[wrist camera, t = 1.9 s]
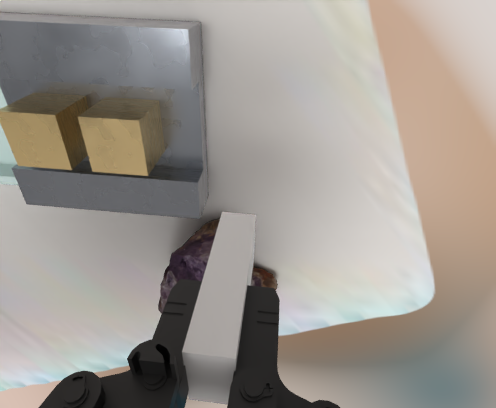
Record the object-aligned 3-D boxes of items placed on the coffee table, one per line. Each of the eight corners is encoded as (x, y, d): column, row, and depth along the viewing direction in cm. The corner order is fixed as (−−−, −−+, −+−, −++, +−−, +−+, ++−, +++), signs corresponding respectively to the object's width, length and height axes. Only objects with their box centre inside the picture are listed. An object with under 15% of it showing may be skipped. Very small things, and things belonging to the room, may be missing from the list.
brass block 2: (116, 147, 27) (92, 171, 24) (105, 97, 24) (77, 116, 21) (165, 150, 27) (148, 175, 23) (158, 100, 24) (139, 120, 21)
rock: (250, 203, 32) (159, 227, 35) (236, 253, 24) (121, 279, 27) (285, 296, 36) (202, 311, 39) (283, 363, 29) (180, 377, 31)
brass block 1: (50, 142, 27) (17, 165, 24) (33, 92, 25) (-5, 110, 22) (98, 145, 27) (71, 170, 24) (85, 95, 25) (54, 115, 21)
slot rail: (50, 182, 31) (26, 204, 28) (-12, 11, 23) (-54, 17, 20) (208, 195, 30) (200, 219, 28) (200, 21, 22) (188, 29, 20)
